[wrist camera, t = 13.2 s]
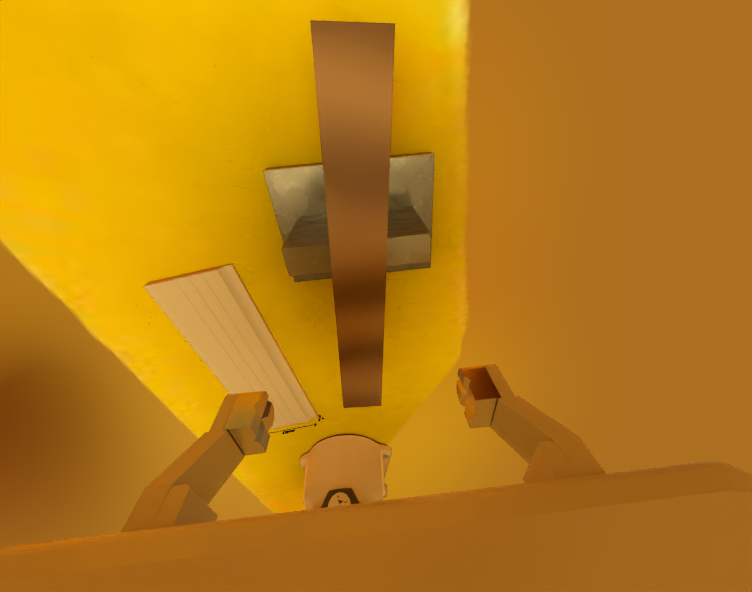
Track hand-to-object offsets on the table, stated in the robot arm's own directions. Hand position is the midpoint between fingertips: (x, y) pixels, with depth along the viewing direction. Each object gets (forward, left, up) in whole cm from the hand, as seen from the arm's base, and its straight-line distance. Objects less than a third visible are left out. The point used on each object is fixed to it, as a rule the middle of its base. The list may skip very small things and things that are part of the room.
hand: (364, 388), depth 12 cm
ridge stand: (0, 0, -22) cm, 22 cm away
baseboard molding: (-19, +17, -23) cm, 35 cm away
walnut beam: (0, 0, -13) cm, 13 cm away
